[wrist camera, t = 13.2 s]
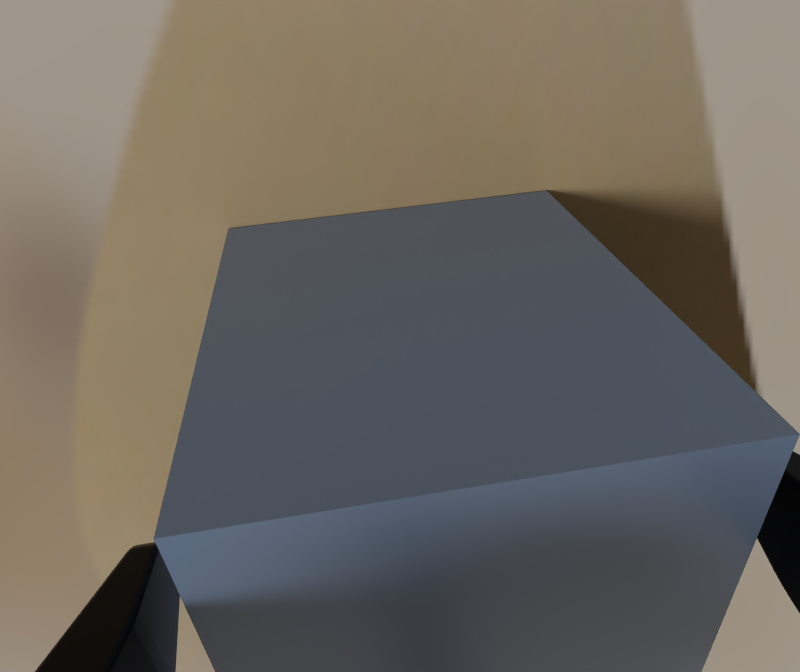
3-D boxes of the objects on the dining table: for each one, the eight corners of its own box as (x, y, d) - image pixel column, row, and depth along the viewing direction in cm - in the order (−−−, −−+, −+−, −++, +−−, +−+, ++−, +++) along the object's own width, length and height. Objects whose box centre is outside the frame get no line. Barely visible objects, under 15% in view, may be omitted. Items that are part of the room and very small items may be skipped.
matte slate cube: (529, 425, 19) (678, 727, 11) (285, 462, 18) (279, 808, 11) (546, 190, 15) (799, 434, 7) (228, 228, 14) (153, 539, 7)
